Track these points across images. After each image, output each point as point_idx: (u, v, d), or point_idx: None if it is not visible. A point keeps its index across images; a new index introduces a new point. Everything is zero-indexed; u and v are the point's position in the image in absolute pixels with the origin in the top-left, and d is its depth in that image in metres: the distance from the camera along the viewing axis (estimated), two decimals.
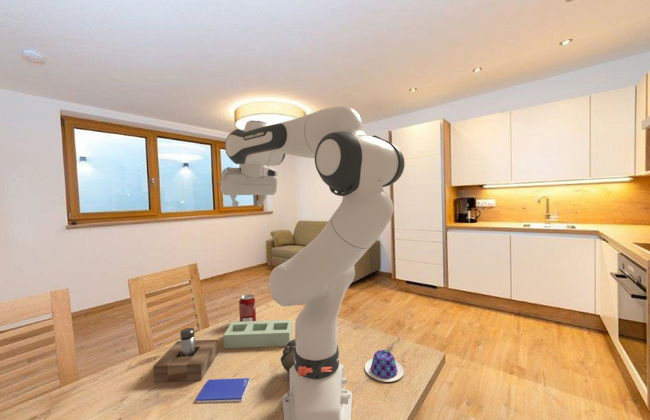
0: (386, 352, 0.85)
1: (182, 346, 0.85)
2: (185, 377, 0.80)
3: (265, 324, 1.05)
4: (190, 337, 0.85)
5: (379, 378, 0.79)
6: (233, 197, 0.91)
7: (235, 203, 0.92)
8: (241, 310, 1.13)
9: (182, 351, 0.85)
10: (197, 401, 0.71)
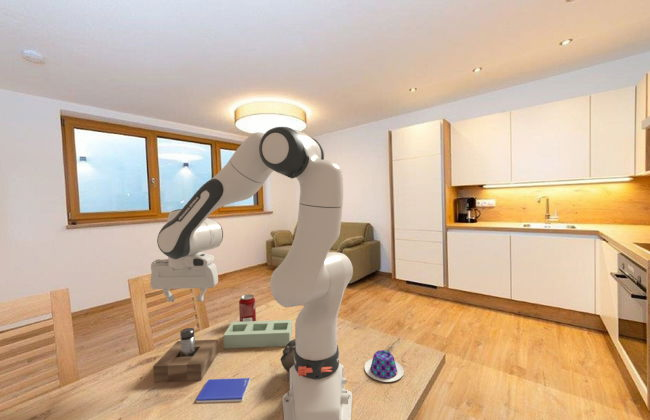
0: (386, 352, 0.84)
1: (182, 346, 0.85)
2: (185, 377, 0.80)
3: (265, 324, 1.05)
4: (190, 337, 0.85)
5: (379, 378, 0.79)
6: (164, 291, 0.84)
7: (167, 298, 0.85)
8: (241, 310, 1.13)
9: (182, 351, 0.85)
10: (198, 401, 0.71)
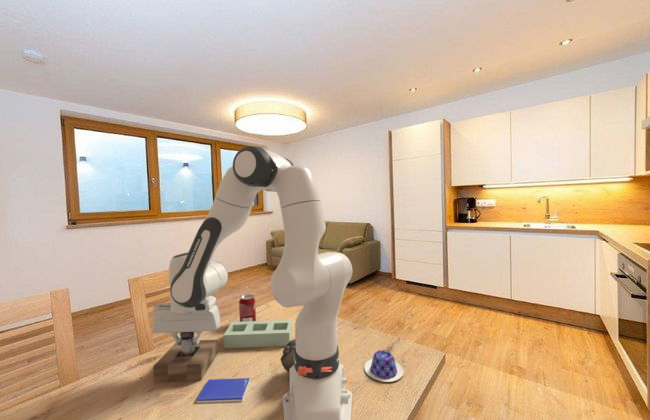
0: (386, 352, 0.84)
1: (182, 346, 0.85)
2: (185, 377, 0.80)
3: (265, 324, 1.05)
4: (190, 337, 0.85)
5: (378, 378, 0.80)
6: (172, 335, 0.85)
7: (176, 341, 0.85)
8: (241, 310, 1.13)
9: (182, 351, 0.85)
10: (198, 401, 0.71)
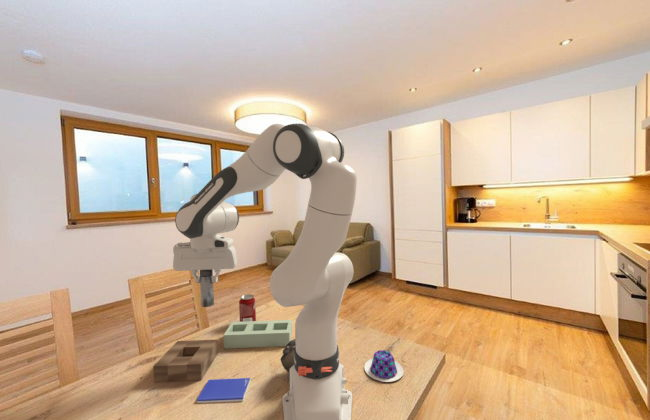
0: (387, 352, 0.84)
1: (201, 283, 0.88)
2: (185, 377, 0.80)
3: (265, 324, 1.05)
4: (209, 275, 0.88)
5: (376, 377, 0.80)
6: (192, 272, 0.88)
7: (196, 279, 0.88)
8: (241, 310, 1.13)
9: (201, 288, 0.88)
10: (198, 401, 0.71)
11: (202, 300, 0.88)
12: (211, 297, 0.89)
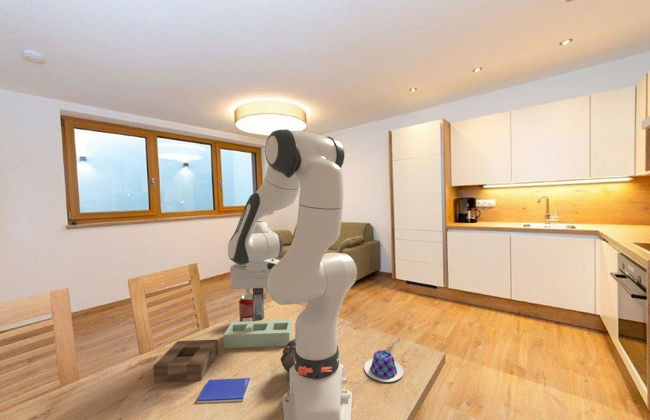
0: (387, 353, 0.84)
1: (255, 300, 1.00)
2: (185, 377, 0.80)
3: (265, 324, 1.05)
4: (261, 293, 1.01)
5: (376, 377, 0.80)
6: (246, 290, 1.01)
7: (249, 296, 1.01)
8: (241, 310, 1.13)
9: (255, 304, 1.00)
10: (199, 401, 0.71)
11: (255, 315, 1.01)
12: (262, 312, 1.01)
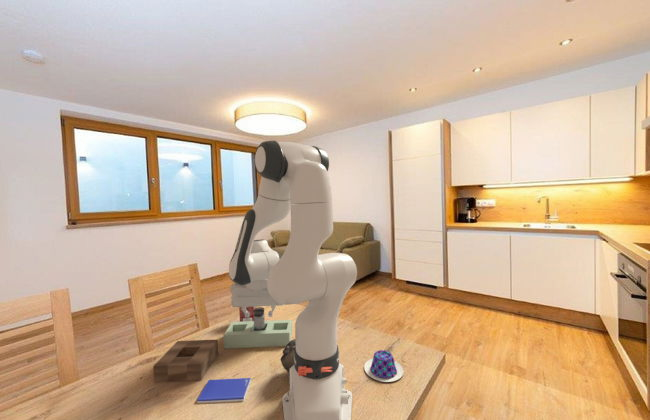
0: (387, 353, 0.84)
1: (255, 322, 1.00)
2: (185, 377, 0.80)
3: (265, 324, 1.05)
4: (262, 314, 1.01)
5: (375, 376, 0.80)
6: (242, 309, 1.01)
7: (245, 314, 1.01)
8: (241, 310, 1.13)
9: (255, 326, 1.01)
10: (199, 401, 0.71)
11: None
12: None
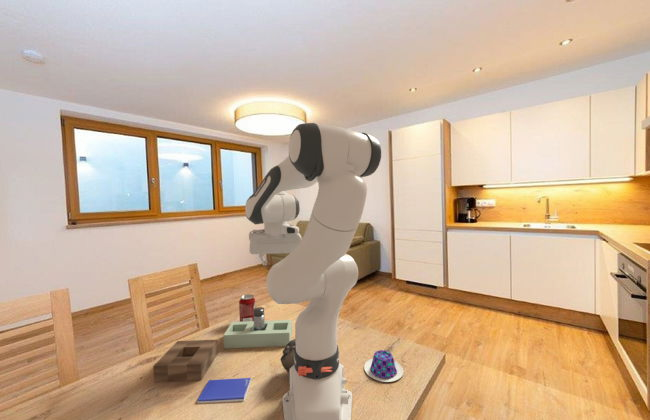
0: (387, 353, 0.84)
1: (255, 322, 1.00)
2: (185, 377, 0.80)
3: (265, 324, 1.05)
4: (262, 314, 1.01)
5: (374, 376, 0.80)
6: (260, 256, 1.01)
7: (263, 262, 1.01)
8: (241, 310, 1.13)
9: (255, 326, 1.01)
10: (199, 401, 0.71)
11: None
12: None
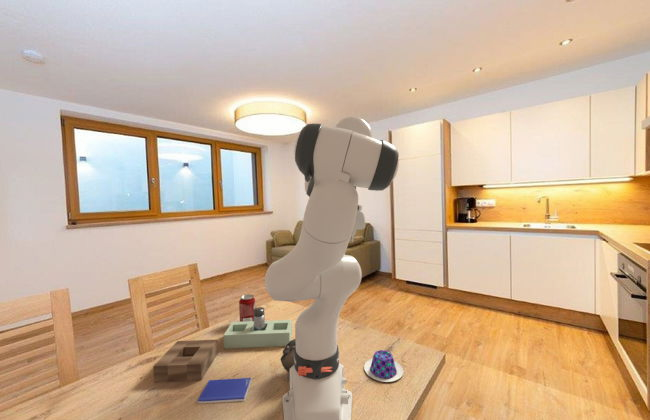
0: (388, 353, 0.84)
1: (256, 322, 1.00)
2: (185, 377, 0.80)
3: (265, 324, 1.05)
4: (262, 314, 1.01)
5: (373, 375, 0.81)
6: None
7: None
8: (241, 310, 1.13)
9: (255, 326, 1.01)
10: (199, 401, 0.71)
11: None
12: None
